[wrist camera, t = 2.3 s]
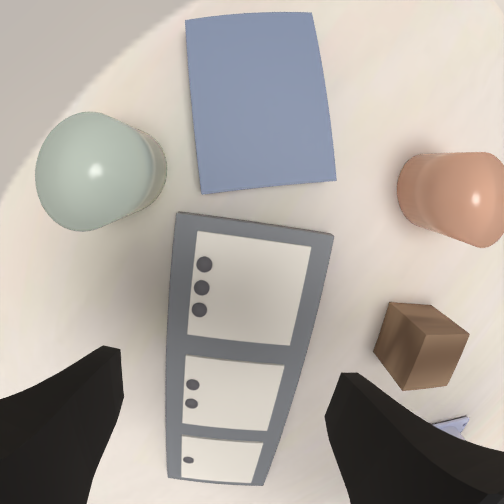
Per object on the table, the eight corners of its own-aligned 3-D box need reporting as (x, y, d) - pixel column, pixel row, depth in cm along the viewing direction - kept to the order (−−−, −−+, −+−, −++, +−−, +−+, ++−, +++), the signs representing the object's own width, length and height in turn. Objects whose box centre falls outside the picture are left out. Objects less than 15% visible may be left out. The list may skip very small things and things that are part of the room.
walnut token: (414, 351, 21) (446, 385, 16) (372, 351, 21) (402, 390, 16) (430, 305, 20) (469, 334, 15) (389, 301, 20) (426, 334, 15)
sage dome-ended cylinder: (161, 217, 18) (129, 238, 12) (86, 208, 17) (32, 224, 11) (173, 132, 16) (144, 112, 11) (95, 128, 16) (43, 113, 10)
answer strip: (262, 479, 24) (263, 488, 23) (168, 471, 23) (167, 480, 22) (330, 233, 18) (335, 237, 17) (179, 211, 17) (175, 213, 16)
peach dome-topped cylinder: (445, 232, 19) (502, 253, 13) (390, 220, 18) (446, 239, 13) (457, 165, 18) (516, 168, 12) (402, 145, 17) (461, 138, 11)
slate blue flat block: (323, 179, 18) (336, 180, 16) (205, 192, 18) (201, 194, 15) (303, 29, 15) (311, 12, 13) (190, 37, 15) (185, 20, 13)
